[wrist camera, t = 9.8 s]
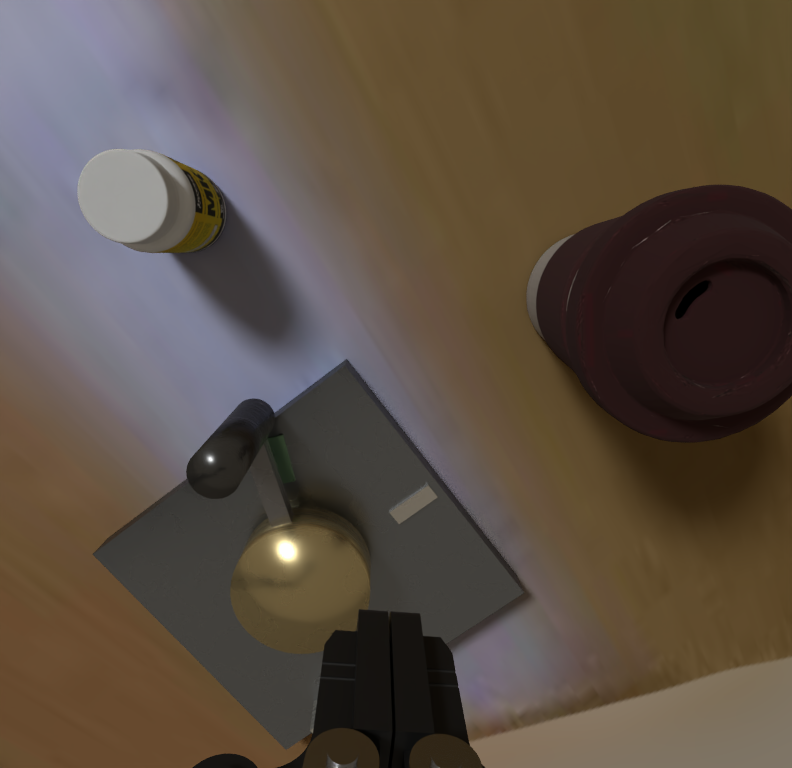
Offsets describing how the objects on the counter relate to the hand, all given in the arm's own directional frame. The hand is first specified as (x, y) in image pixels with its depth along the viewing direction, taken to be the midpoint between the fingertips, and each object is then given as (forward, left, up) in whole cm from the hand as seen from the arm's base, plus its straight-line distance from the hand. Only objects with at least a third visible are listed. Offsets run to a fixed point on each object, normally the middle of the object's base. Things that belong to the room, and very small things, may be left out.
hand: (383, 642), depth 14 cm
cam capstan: (-9, -2, -20) cm, 22 cm away
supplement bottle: (-2, +16, -23) cm, 28 cm away
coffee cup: (+14, -2, -23) cm, 27 cm away
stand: (-10, -6, -23) cm, 26 cm away
